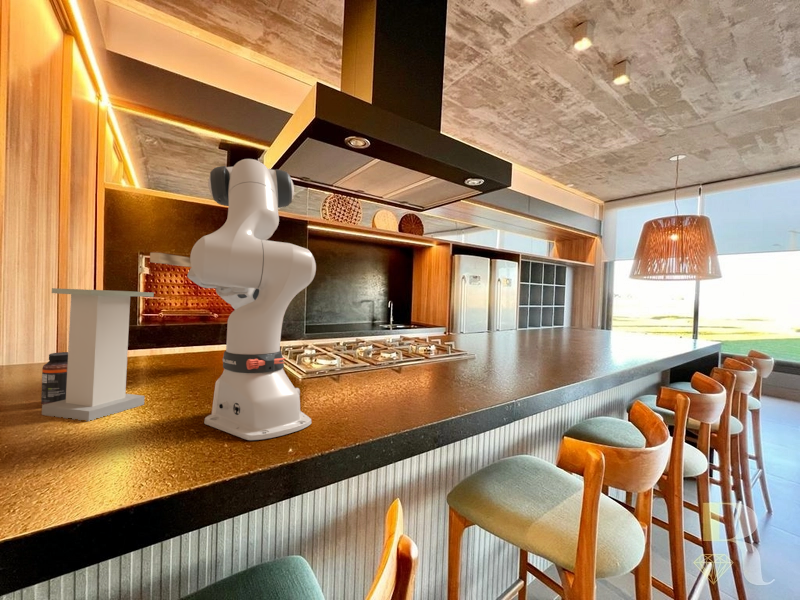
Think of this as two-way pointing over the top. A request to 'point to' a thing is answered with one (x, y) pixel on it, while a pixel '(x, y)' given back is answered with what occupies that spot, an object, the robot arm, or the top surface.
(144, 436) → the top surface
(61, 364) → the supplement bottle
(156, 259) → the baton
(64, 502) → the top surface
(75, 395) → the stand
